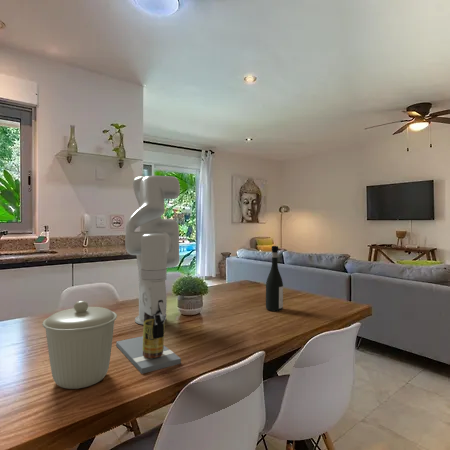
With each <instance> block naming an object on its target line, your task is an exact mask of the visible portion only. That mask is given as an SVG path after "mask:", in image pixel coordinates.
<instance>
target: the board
mask: <svg viewBox="0 0 450 450" xmlns="http://www.w3.org/2000/svg"><path fill="white" fill-rule="evenodd" d="M115 345H116V348H117V349H118V350H119V351H120V352H121V353H122V354H123V356H125V357H126V359H128V361H129V362H130V363H131V364H132V365H133V366H134V367H135V368H136V369H137V371H138V372H139V373H140V374H141V375H143V374H146V373H147V374H148V373H150V372H154V371H158V370H162V369H165V368H170V367H173V366H177V365H180V364H182V358H181V357H180V356H179V355H177V354H176V353H175V352H174V351H173V350H171V349H169V347H167V346H166V345H164V349H163V354H162V355H161V356H160V357H157V358H146V357H144V356H143V335H142V336H137V337H132V338H127V339H123V340H118V341H116V343H115Z"/></svg>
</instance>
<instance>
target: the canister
mask: <svg viewBox="0 0 450 450" xmlns="http://www.w3.org/2000/svg"><path fill="white" fill-rule="evenodd" d="M117 319H118V314H117V313H116V312H115V311H112V310H111V309H109V308H107V307H102V306H89V303H88V302H87V301H86V300H78V301H76V302H75V303H74V304H73V307H72V308H66V309H63V310H60V311H57V312H54V313H52V314H51V315H50V316H49V317H47V318H45V319H44V320H43V321H42V323H41V325H42V327H43V328H44V329H45V334H46V342H47V343H46V344H47V350H48V351H47V352H48V358H49V365H50V371H51V376H52V379H53V382H54V383H55V384H56V385H57V386H58V387H60V388H63V389H68V390H74V389H75V390H76V389H77V390H78V389H83V388H87V387H90V386H93V385H95V384H98V383H99V382H100V381H103V379H104V378H105V376H106V375H107V373H108V371H109V366H110V362H111V354H112V348H113V338H114V331H115V329H114V328H115V321H116V320H117Z"/></svg>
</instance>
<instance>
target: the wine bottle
mask: <svg viewBox="0 0 450 450" xmlns="http://www.w3.org/2000/svg"><path fill="white" fill-rule="evenodd" d="M278 254H279V246H277V245H272V246H271V268H270V271H269V274H268V276H267V278H266V284H265V309H266V310H268V311H270V312H280V311H282V310H283V309H284V283H283V278H282V275H281V273H280V270H279V266H278V261H279V260H278V259H279V258H278V256H279V255H278Z"/></svg>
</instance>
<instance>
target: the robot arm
mask: <svg viewBox="0 0 450 450" xmlns="http://www.w3.org/2000/svg"><path fill="white" fill-rule="evenodd" d="M132 188H133V192H134V196H135V198H136V201H137V203H138V206H139V208H138V209H136V210H135V211H134V212H133V213H132V214H131V215H130V217H129V218H128V220H127V222H126V225H125V235H124V236H125V237H124V238H125V239H124V246H125V250H126V253H127V254H129V255H130V256H136V262H137V270H138V315H137V316H135V318H134V322H135V323H136V324H139V325H143V326H144V312H145V313H147V314H148V315H150V316H153V319H154V325H153V338H154V339H156V338H160V337H163V336H164V337H165V326H164V323H165V322H166V319H167V307H168V305H167V289H166V288H167V286H166V281H167V277H168V275H167V270H168V268H174V267H177V266H178V264H179V262H180V227H179V224H178V221H176V219H172V218H171V219H170V218H162V216H163V215H164V214H165V209H166V208H165V207H166V206H165V199H167V200H169V199H171V200H176V199H178V197H180V192H181V186H180V181H179V179H178V177H176V176H171V175H142V176H137V177H135V178H134V180H133V181H132ZM137 228H139V231H136V230H137ZM156 312H160V313H157V314H156ZM156 316H160V317H158V319H157V317H156ZM164 320H165V322H164Z"/></svg>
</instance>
